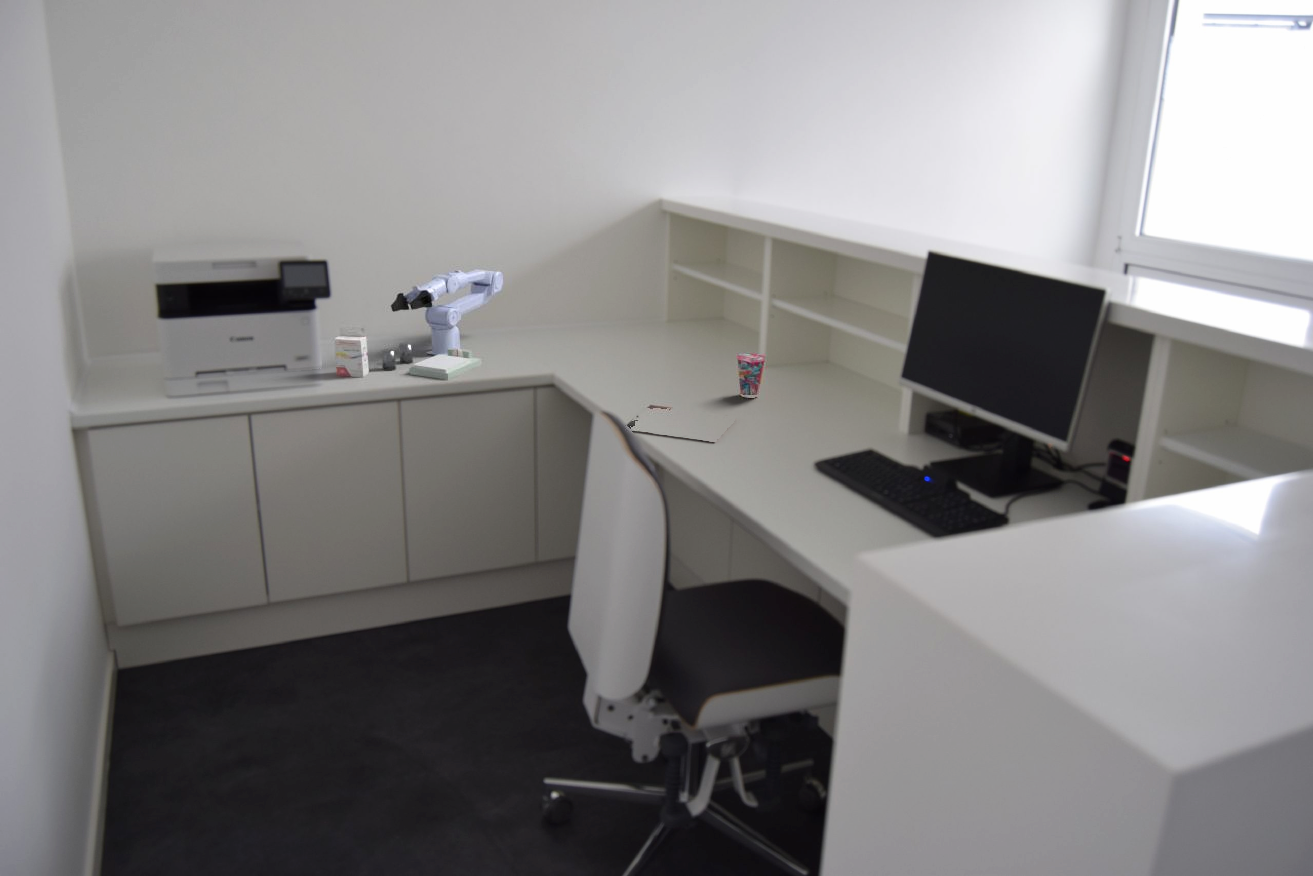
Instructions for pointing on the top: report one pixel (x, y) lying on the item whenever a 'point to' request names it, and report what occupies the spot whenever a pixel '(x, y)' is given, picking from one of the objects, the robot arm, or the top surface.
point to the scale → (446, 364)
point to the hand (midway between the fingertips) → (401, 307)
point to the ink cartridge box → (351, 352)
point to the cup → (750, 372)
